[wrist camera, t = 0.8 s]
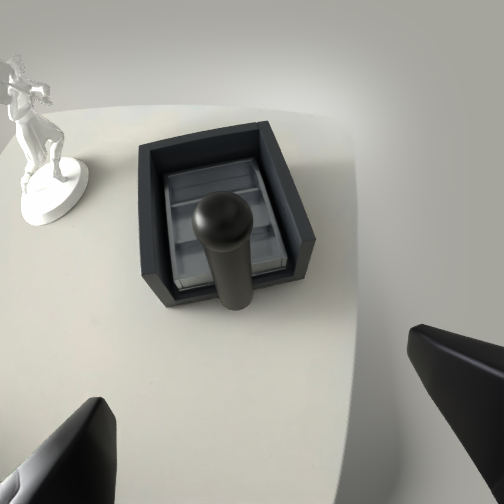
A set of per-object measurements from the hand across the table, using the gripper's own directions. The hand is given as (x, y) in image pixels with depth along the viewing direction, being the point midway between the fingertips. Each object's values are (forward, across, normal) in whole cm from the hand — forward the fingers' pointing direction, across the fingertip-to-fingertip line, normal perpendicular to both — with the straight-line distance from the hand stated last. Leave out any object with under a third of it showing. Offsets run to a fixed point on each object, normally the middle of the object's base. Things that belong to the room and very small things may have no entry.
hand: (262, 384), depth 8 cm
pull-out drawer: (+18, 0, +1) cm, 18 cm away
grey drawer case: (+20, 0, +1) cm, 20 cm away
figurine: (+28, +18, -6) cm, 34 cm away
